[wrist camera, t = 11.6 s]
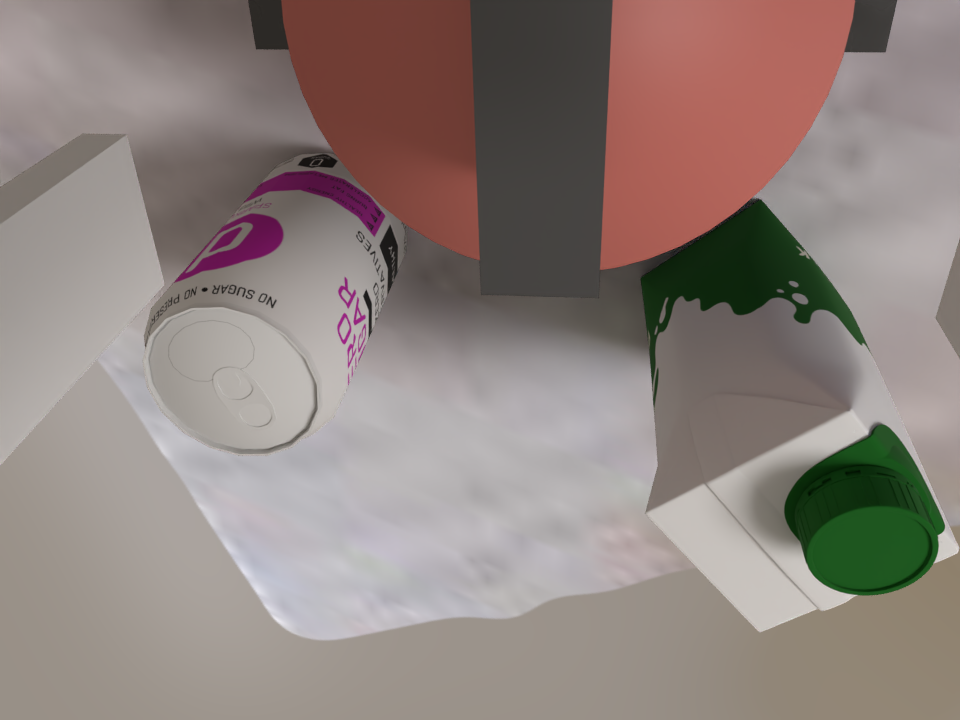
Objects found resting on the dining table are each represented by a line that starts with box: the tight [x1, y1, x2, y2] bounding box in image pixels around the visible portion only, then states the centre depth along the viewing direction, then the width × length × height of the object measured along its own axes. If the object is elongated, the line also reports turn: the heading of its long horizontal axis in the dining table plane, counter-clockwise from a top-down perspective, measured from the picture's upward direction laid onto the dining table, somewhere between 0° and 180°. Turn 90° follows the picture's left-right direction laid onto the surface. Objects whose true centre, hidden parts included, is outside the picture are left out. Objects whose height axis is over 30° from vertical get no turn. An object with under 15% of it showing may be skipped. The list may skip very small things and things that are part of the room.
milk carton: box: [641, 200, 959, 632], centre depth 37 cm, size 9×9×20 cm
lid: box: [281, 0, 855, 298], centre depth 23 cm, size 17×17×10 cm
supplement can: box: [143, 153, 407, 456], centre depth 40 cm, size 8×8×15 cm
